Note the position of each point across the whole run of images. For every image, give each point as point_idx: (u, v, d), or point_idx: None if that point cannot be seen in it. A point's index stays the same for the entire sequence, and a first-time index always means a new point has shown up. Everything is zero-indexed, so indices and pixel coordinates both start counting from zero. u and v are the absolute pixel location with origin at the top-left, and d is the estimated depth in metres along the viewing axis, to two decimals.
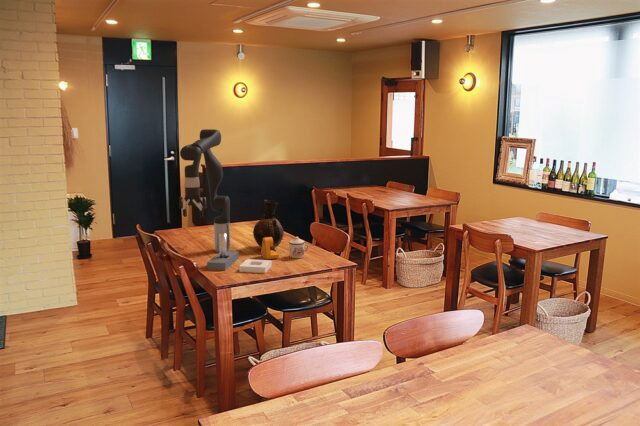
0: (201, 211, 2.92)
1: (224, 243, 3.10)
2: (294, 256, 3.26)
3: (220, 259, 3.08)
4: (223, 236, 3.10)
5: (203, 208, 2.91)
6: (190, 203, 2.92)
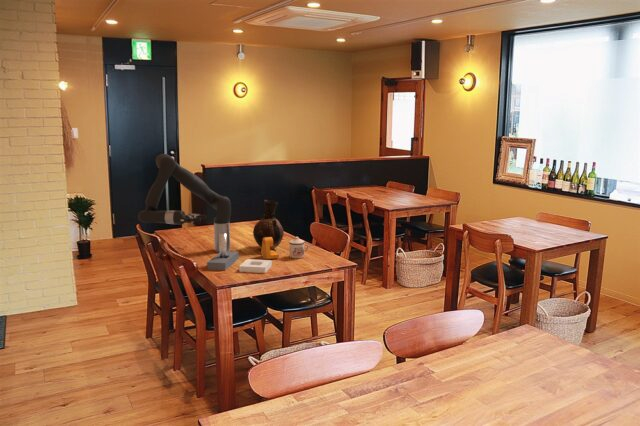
0: None
1: (224, 243, 3.10)
2: (294, 256, 3.26)
3: (220, 259, 3.08)
4: (223, 236, 3.10)
5: (190, 222, 3.06)
6: None
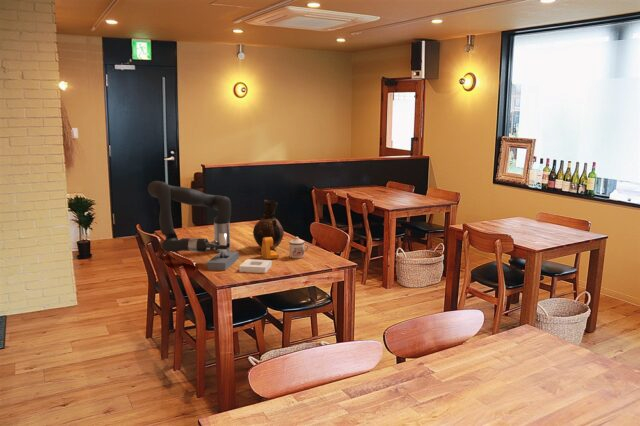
0: (221, 248, 3.10)
1: (224, 243, 3.10)
2: (294, 256, 3.26)
3: (220, 259, 3.08)
4: (223, 236, 3.10)
5: (217, 249, 3.09)
6: None
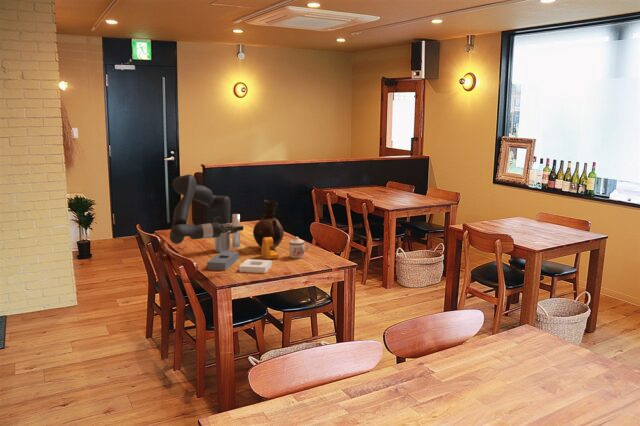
0: (237, 230, 2.93)
1: (239, 224, 2.95)
2: (294, 256, 3.26)
3: (220, 259, 3.08)
4: (239, 217, 2.94)
5: (235, 231, 2.91)
6: None
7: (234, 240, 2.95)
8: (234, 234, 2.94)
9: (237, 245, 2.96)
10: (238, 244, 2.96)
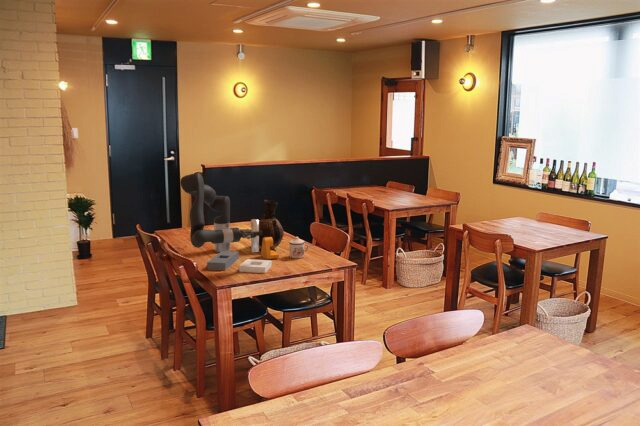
0: (256, 235, 2.99)
1: (258, 229, 3.01)
2: (294, 256, 3.26)
3: (220, 259, 3.08)
4: (258, 222, 3.00)
5: (255, 236, 2.97)
6: None
7: (253, 245, 3.01)
8: (253, 239, 3.00)
9: (256, 250, 3.02)
10: (257, 249, 3.02)
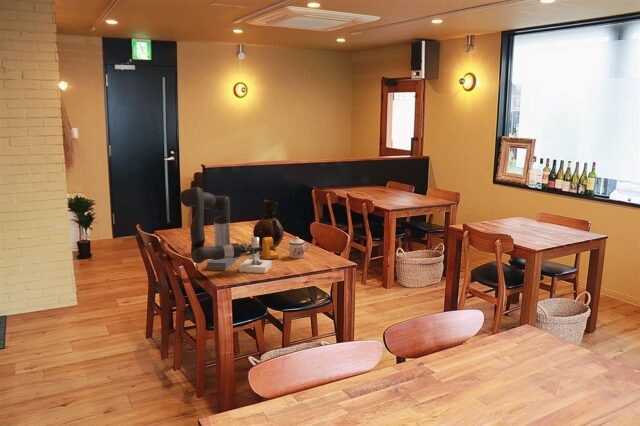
0: (257, 251, 2.99)
1: None
2: (294, 256, 3.26)
3: (220, 259, 3.08)
4: (258, 240, 3.02)
5: (255, 252, 2.97)
6: None
7: (253, 262, 3.03)
8: (253, 257, 3.02)
9: None
10: None
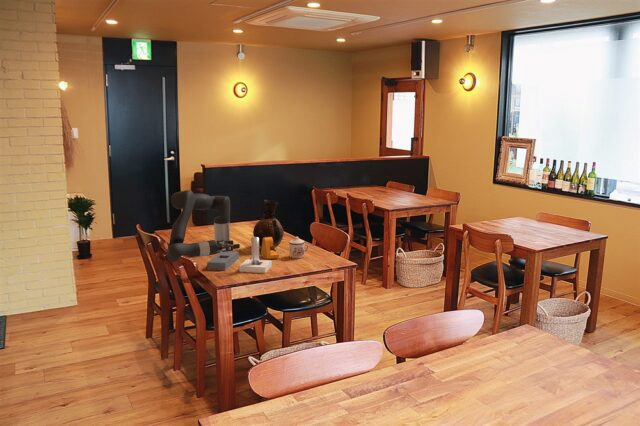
0: None
1: (258, 247, 3.03)
2: (294, 256, 3.26)
3: (220, 259, 3.08)
4: (258, 240, 3.02)
5: None
6: None
7: (253, 262, 3.03)
8: (253, 257, 3.02)
9: None
10: None
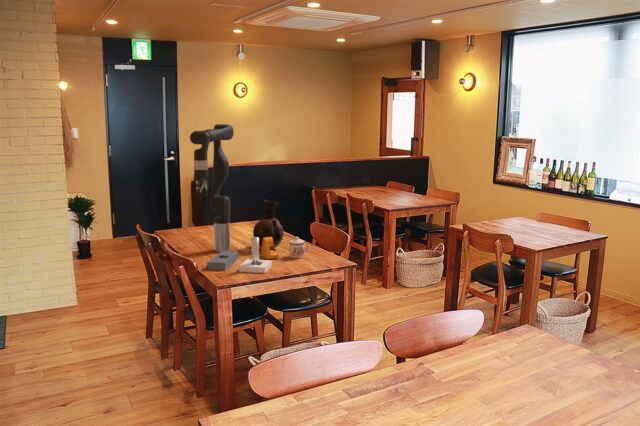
0: None
1: (258, 247, 3.03)
2: (294, 256, 3.26)
3: (220, 259, 3.08)
4: (258, 240, 3.02)
5: None
6: None
7: (253, 262, 3.03)
8: (253, 257, 3.02)
9: None
10: None
